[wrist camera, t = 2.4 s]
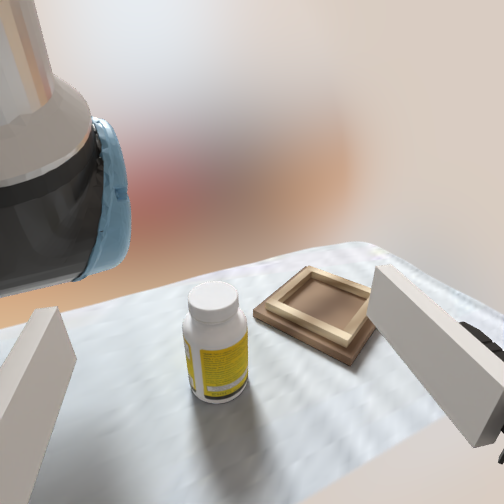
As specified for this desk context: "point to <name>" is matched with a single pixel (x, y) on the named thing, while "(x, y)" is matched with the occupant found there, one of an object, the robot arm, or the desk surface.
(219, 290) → the supplement bottle
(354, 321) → the walnut board
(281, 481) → the desk surface
